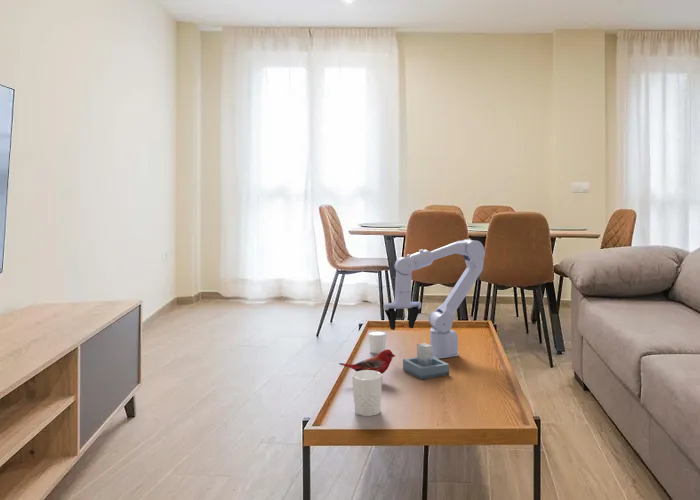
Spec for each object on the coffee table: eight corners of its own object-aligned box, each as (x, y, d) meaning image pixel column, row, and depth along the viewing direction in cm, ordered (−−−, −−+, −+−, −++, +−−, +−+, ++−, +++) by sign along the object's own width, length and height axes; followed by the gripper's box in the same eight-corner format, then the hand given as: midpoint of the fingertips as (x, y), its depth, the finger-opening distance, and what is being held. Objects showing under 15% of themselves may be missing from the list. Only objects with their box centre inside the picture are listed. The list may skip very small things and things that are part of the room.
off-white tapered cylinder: (385, 354, 189) (385, 335, 188) (367, 353, 190) (366, 335, 190) (387, 349, 196) (387, 331, 195) (370, 348, 197) (369, 330, 197)
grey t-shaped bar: (423, 365, 172) (423, 341, 171) (436, 369, 167) (436, 345, 166) (412, 368, 169) (412, 344, 168) (425, 372, 164) (425, 348, 163)
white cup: (351, 406, 140) (350, 370, 139) (380, 405, 140) (379, 369, 140) (354, 418, 132) (353, 380, 131) (384, 416, 133) (384, 379, 132)
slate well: (429, 365, 175) (429, 355, 175) (449, 374, 165) (449, 364, 164) (403, 369, 171) (402, 359, 171) (421, 379, 160) (421, 368, 160)
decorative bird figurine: (396, 382, 159) (396, 350, 158) (339, 384, 157) (338, 352, 157) (395, 379, 161) (394, 347, 161) (338, 381, 160) (338, 349, 160)
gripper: (414, 288, 190) (413, 324, 191) (379, 290, 184) (378, 327, 185) (425, 291, 184) (423, 328, 185) (389, 293, 177) (388, 331, 178)
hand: (401, 328), depth 184 cm, fingers open, 7 cm apart
